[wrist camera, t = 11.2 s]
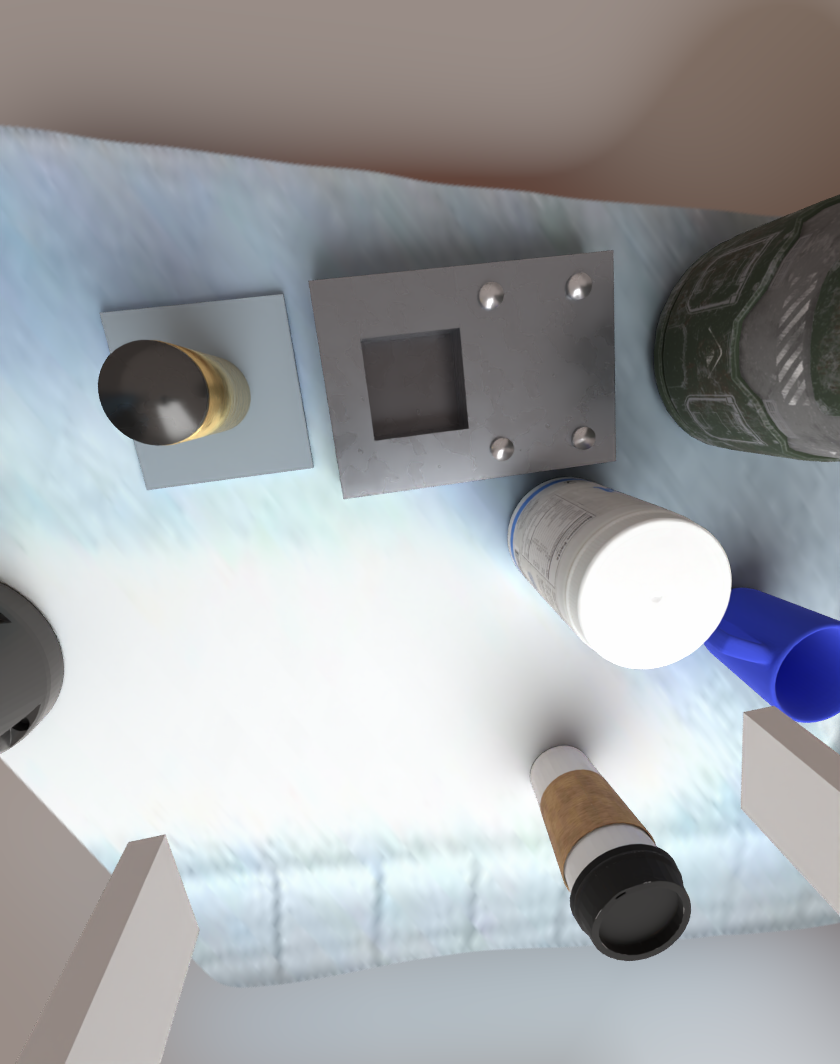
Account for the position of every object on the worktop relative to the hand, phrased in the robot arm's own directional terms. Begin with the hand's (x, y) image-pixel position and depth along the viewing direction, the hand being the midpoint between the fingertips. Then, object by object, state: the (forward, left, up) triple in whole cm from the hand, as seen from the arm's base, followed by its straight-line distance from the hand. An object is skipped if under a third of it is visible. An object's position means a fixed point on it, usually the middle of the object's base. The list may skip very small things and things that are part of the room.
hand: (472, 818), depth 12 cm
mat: (-11, +10, -30) cm, 34 cm away
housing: (+7, +9, -30) cm, 33 cm away
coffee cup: (+13, -28, -31) cm, 43 cm away
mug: (+28, -14, -31) cm, 44 cm away
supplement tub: (+14, -4, -31) cm, 34 cm away
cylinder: (-11, +11, -30) cm, 33 cm away
